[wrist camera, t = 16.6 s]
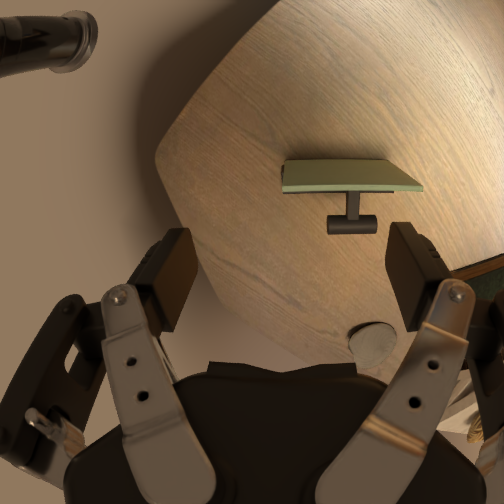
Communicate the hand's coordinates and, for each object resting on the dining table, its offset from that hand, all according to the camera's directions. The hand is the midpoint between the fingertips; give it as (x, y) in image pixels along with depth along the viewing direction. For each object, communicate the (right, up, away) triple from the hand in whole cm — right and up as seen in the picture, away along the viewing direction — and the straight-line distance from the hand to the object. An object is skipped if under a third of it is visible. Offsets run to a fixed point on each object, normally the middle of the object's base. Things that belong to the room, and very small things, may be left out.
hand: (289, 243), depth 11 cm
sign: (+9, +9, +19) cm, 23 cm away
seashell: (+24, -18, +44) cm, 53 cm away
